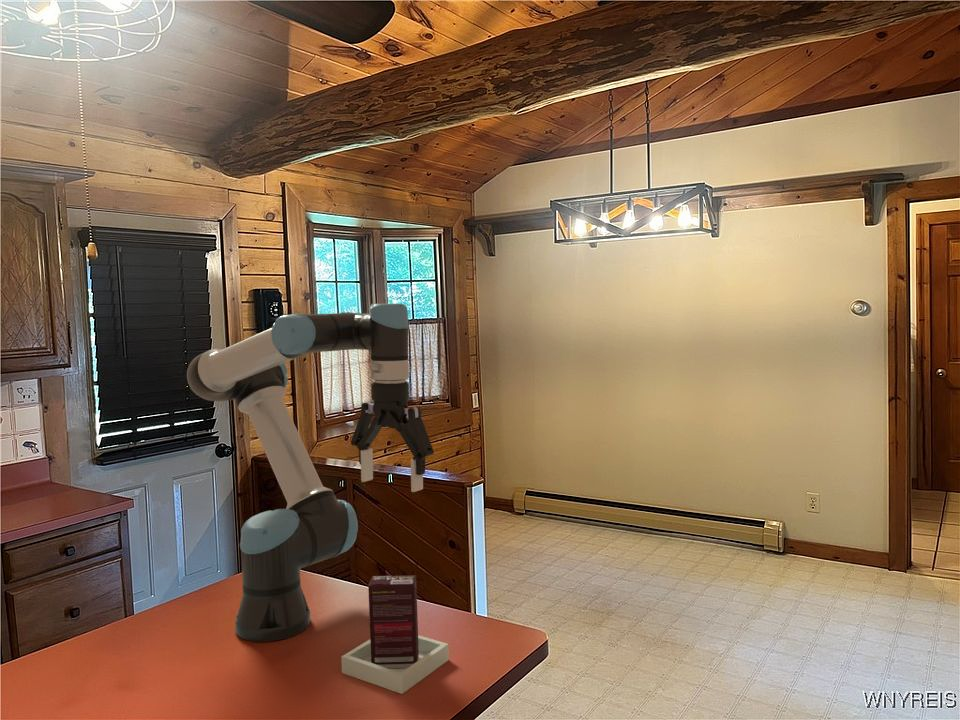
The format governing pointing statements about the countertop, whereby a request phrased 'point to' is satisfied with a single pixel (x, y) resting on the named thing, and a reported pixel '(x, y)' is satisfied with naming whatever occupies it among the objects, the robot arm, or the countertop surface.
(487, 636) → the countertop surface
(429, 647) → the tray
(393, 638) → the supplement box
